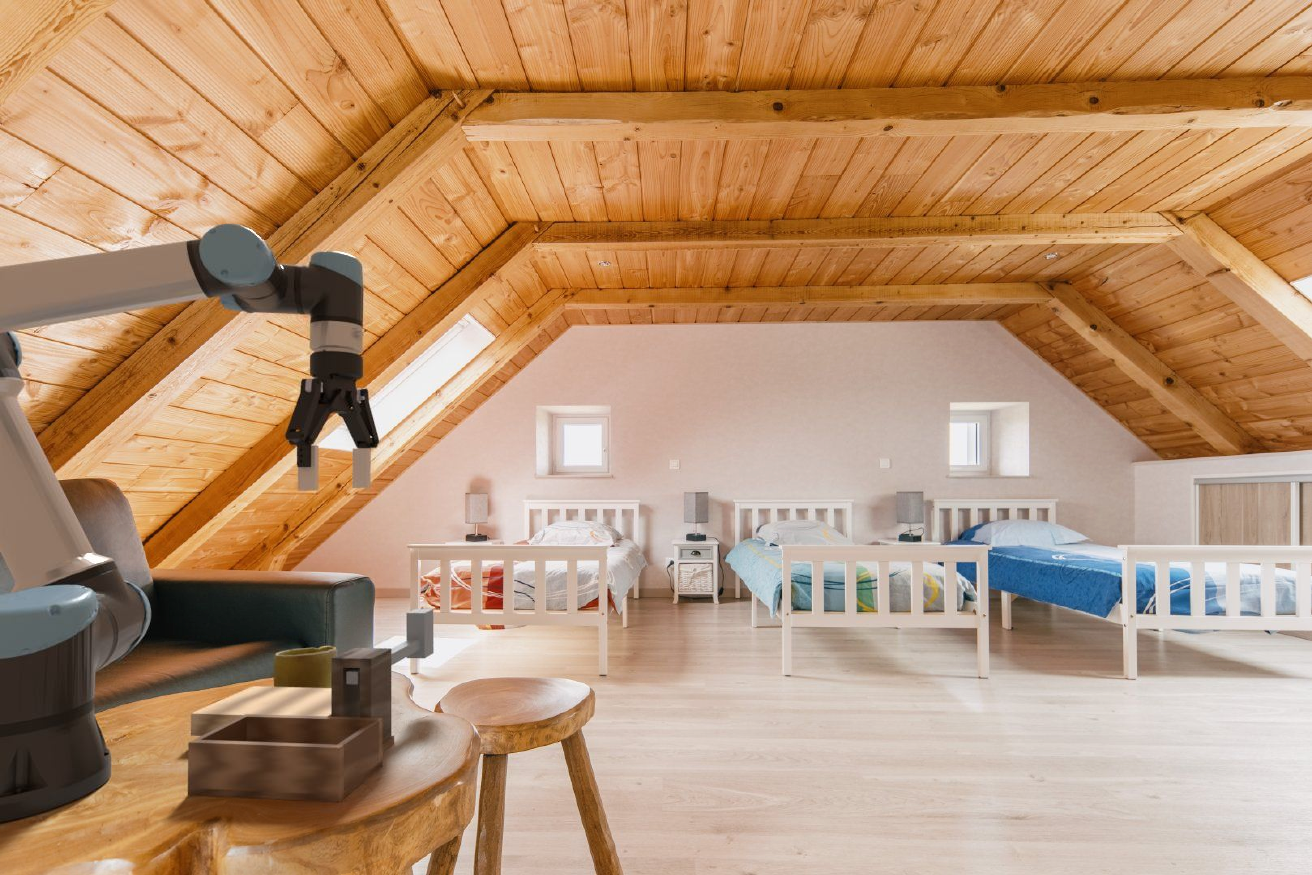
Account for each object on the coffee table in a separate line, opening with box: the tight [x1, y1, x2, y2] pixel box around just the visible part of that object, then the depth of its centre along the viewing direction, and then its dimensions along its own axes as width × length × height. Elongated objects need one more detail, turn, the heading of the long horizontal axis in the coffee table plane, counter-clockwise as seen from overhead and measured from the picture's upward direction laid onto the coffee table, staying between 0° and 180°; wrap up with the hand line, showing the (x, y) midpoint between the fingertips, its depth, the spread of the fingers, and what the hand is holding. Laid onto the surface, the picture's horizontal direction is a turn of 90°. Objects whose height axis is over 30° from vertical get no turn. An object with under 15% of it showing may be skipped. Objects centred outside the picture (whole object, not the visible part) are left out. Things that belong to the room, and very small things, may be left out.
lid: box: [190, 685, 331, 737], centre depth 95 cm, size 20×12×4 cm, turn 82°
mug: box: [272, 645, 338, 688], centre depth 111 cm, size 12×10×10 cm
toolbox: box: [187, 647, 395, 803], centre depth 84 cm, size 19×16×13 cm
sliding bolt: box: [346, 608, 434, 684], centre depth 97 cm, size 3×20×7 cm, turn 172°
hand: (336, 489), depth 103 cm, fingers open, 13 cm apart
